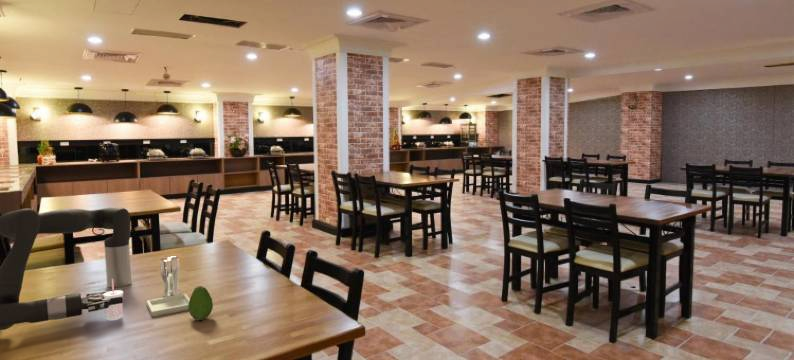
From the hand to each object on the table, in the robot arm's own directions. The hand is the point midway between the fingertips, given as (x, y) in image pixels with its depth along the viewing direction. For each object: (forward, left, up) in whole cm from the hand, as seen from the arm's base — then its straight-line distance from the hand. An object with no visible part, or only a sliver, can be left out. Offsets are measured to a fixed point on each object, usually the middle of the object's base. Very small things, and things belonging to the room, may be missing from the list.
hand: (121, 297), depth 175 cm
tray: (0, +16, -7) cm, 17 cm away
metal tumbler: (-15, +19, -7) cm, 25 cm away
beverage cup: (0, -2, -7) cm, 8 cm away
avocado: (+19, +23, -7) cm, 30 cm away
